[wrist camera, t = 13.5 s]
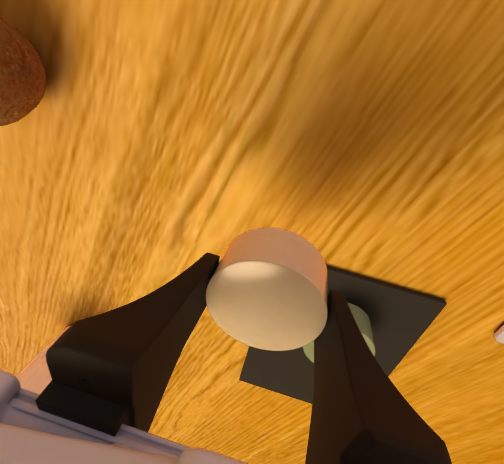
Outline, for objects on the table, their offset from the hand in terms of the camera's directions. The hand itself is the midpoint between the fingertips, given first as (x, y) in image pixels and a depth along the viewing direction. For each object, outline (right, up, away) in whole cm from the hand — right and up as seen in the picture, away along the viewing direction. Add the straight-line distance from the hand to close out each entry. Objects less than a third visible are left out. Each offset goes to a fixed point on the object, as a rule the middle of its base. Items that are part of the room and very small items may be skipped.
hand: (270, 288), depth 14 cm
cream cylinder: (0, +1, +1) cm, 1 cm away
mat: (+6, -8, +14) cm, 17 cm away
